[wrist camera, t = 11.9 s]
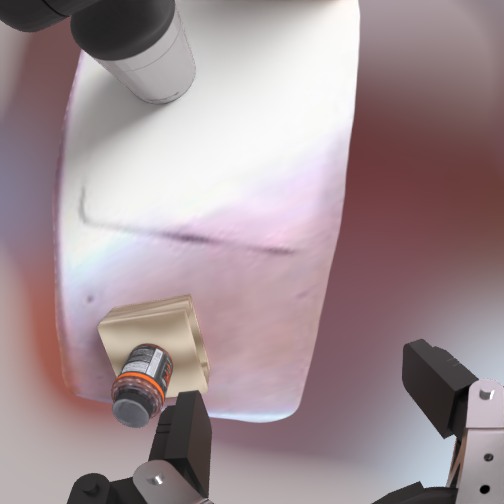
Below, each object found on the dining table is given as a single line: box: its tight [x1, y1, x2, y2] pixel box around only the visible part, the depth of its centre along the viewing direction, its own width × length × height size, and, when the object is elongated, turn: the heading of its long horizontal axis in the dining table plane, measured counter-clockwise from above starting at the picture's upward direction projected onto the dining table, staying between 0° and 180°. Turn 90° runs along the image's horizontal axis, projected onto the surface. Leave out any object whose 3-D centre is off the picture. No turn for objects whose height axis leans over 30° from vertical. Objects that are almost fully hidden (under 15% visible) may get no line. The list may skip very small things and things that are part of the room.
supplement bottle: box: [111, 343, 173, 428], centre depth 33 cm, size 6×6×11 cm
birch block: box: [97, 294, 210, 398], centre depth 42 cm, size 12×12×7 cm
